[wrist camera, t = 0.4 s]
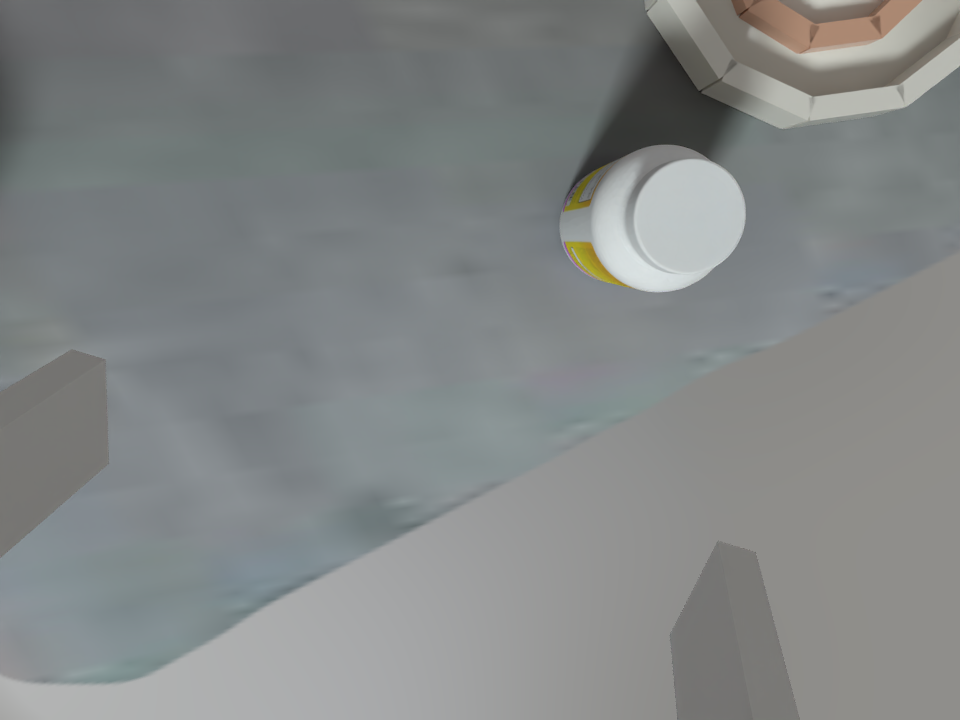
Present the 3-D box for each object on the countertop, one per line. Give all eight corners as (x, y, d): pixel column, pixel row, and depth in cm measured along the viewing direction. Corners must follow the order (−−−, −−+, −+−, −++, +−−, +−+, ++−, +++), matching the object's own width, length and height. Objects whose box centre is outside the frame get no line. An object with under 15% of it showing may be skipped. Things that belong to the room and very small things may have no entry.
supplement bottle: (665, 282, 41) (762, 302, 29) (555, 280, 41) (605, 300, 28) (673, 166, 40) (778, 134, 28) (559, 163, 40) (613, 129, 27)
